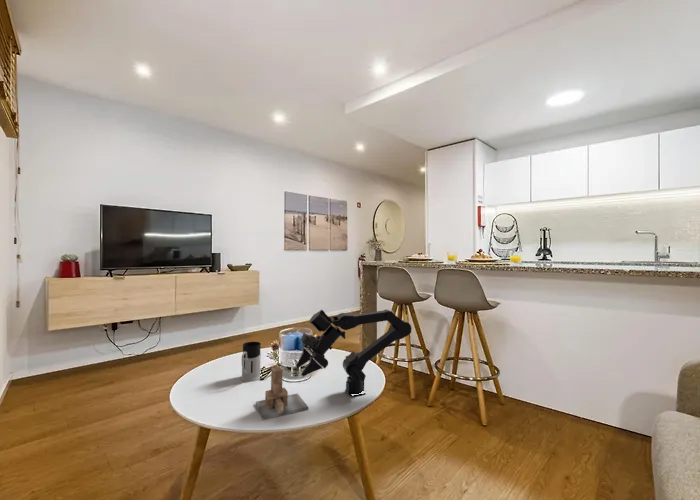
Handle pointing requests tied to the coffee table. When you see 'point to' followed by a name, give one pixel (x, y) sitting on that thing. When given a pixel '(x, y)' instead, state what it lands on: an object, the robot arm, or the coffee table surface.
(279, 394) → the wooden block
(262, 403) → the cross plate base
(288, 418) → the coffee table surface
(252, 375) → the glass holder
